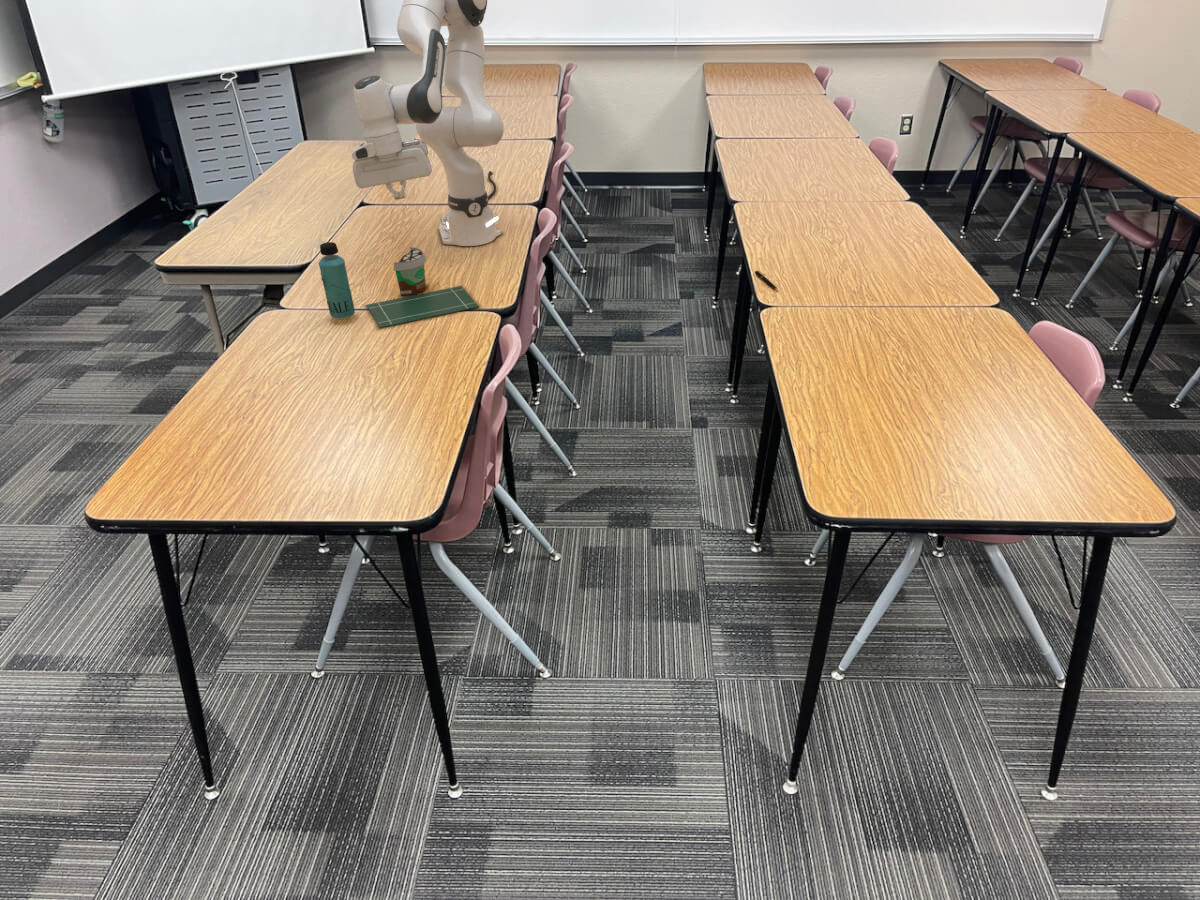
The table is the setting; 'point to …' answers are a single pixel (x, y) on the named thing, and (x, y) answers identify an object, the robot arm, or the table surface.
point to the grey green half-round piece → (411, 272)
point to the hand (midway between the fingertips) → (400, 198)
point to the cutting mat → (421, 306)
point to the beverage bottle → (335, 282)
